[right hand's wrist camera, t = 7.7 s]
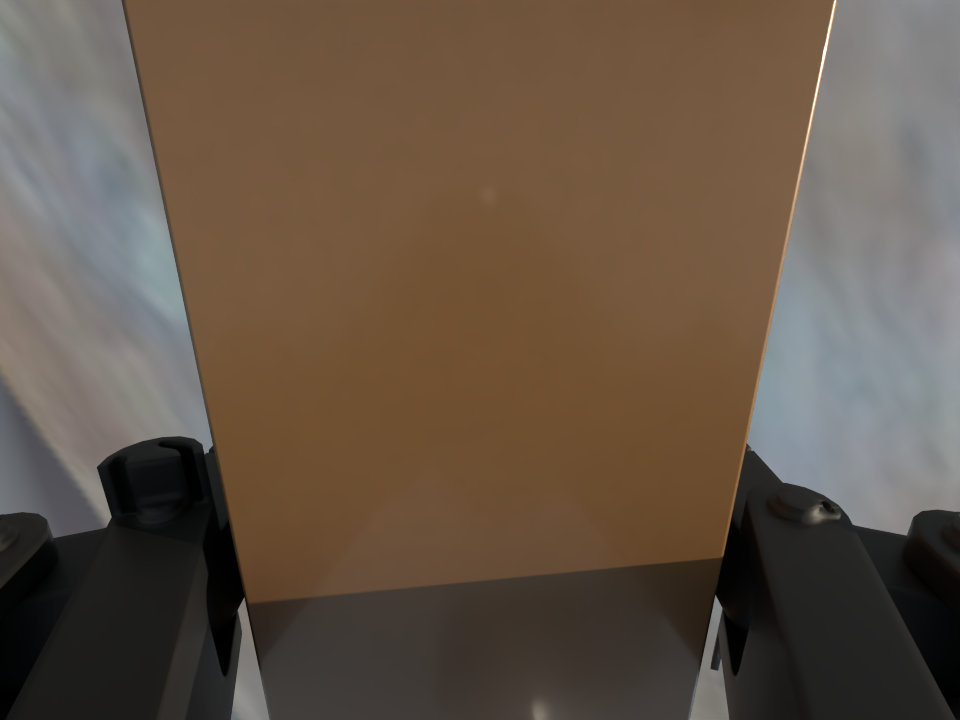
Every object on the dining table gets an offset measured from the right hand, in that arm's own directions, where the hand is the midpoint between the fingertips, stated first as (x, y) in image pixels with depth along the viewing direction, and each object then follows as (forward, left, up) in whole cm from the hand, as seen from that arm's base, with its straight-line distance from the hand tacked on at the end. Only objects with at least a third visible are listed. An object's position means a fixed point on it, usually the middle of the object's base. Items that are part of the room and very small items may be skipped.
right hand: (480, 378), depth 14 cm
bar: (+7, +7, 0) cm, 10 cm away
